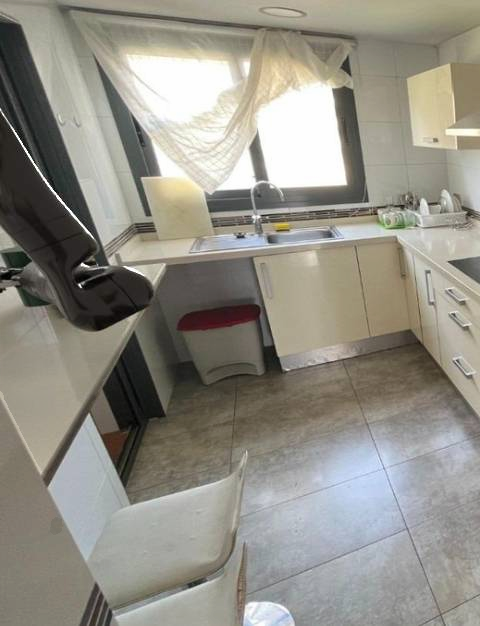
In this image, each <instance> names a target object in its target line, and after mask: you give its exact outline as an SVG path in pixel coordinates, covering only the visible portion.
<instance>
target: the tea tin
mask: <svg viewBox="0 0 480 626" xmlns="http://www.w3.org/2000/svg"><path fill="white" fill-rule="evenodd" d="M27 254H28V253H27ZM27 254H26V253H25V252H24V251H23V250H22V249H21V248H20V247H19V246H12V247H8V248H3V249H1V250H0V257H1V259H2V261H3V263H4V265H5V267H6V268H8V269H11V268H15V267H26V266H27V265H28V264H29V263H30V262H32V260H31V259H30V258H29V257H28V256H27ZM15 289H16V292H17V294H18V297H19V298H20V300H21V302H22V305H23V306H24V307H25V308H37V307H44V306H45V307H46V306H50V305H52V304H51V303H49V302H47V301H44V300H42V299H40V298H37V297H35V296H33V295H31V294H30V293H29V292H27V291H26V290H25V289H17V288H15Z"/></svg>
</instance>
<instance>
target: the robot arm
mask: <svg viewBox="0 0 480 626" xmlns="http://www.w3.org/2000/svg"><path fill="white" fill-rule="evenodd" d="M0 229H2V231H3V232H4V233H5V234H6V235H7V236H8V237H9V238H10V239H11V240H12V241H13V242H14V244H16V245H17V247H20V248H21V249H22V250H23V251H24V252H25V253H26V254H27V253H28V254H27V256H28V257H29V258H30V259H31V260H32V262H30V263H29V264H28V265H27V266H26V267H15V268H11V269H8V268H6V266H0V294H3V293H4V292H5V291H7V288H12V287H14V288H15V289H16V288H17V289H25V290H26V291H27V292H29V293H30V294H31V295H33V296H35V297H37V298H40V299H42V300H44V301H47V302H49V303H51V305H54V306H56V305H57V306H58V307H59V309H60V310H59V309H58V310H59V312H60V311H61V312H60V313H61V314H63V315H62V316H63V317H64V319H65V320H66V321H67V322H68V323H69V324H70V325H71V326H72V327H74V328H77V329H78V330H81V331H84V332H89V333H97V332H101V331H104V330H106V329H108V328H111V327H112V326H115V325H116V324H117V323H120V322H121V321H123V320H125V319H128V318H130V317H132V316H134V315H136V314H138V313H140V312H142V311H143V310H146V309H147V308H148V307H150V306H151V305H152V304H153V303H154V301H155V299H156V289H155V287H154V284H153V282H152V281H151V280H150V278H149V277H147V276H146V275H144V274H143V273H142V272H140V271H139V270H136V269H134V268H131V267H129V266H124V265H103V266H102V265H101V266H99V267H98V265H99V264H98V262H97V259H95V260H91V259H90V258H91V257H94V256H96V255H97V254H98V253H99V252H100V245H99V242H97V240H96V239H95V237H93V235H92V234H91V233H90V232H89V231H88V229H87V228H86V227H85V226H84V224H83V223H82V222H81V221H80V220H79V219H78V218H77V217H76V215H75V214H74V213H73V212H72V210H70V208H69V207H68V206H67V205H66V204H65V203H64V202H63V201H62V199H61V198H60V197H59V195H58V194H57V193H56V192H55V191H54V190H53V188H52V187H51V185H50V183H48V181H47V179H46V178H45V177H44V176H43V174H42V172H41V171H40V169H39V168H38V166H37V165H36V164H35V163H34V161H33V159H32V157H31V156H30V154H29V153H28V151H27V149H26V147H25V146H24V145H23V143H22V141H21V140H20V138H19V136H18V135H17V133H16V132H15V130H14V128H13V127H12V125H11V124H10V121H8V119H7V117H6V116H5V114H4V113H3V111H2V109H1V108H0ZM17 289H16V290H17ZM57 306H56V307H57ZM58 307H57V308H58Z"/></svg>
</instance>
